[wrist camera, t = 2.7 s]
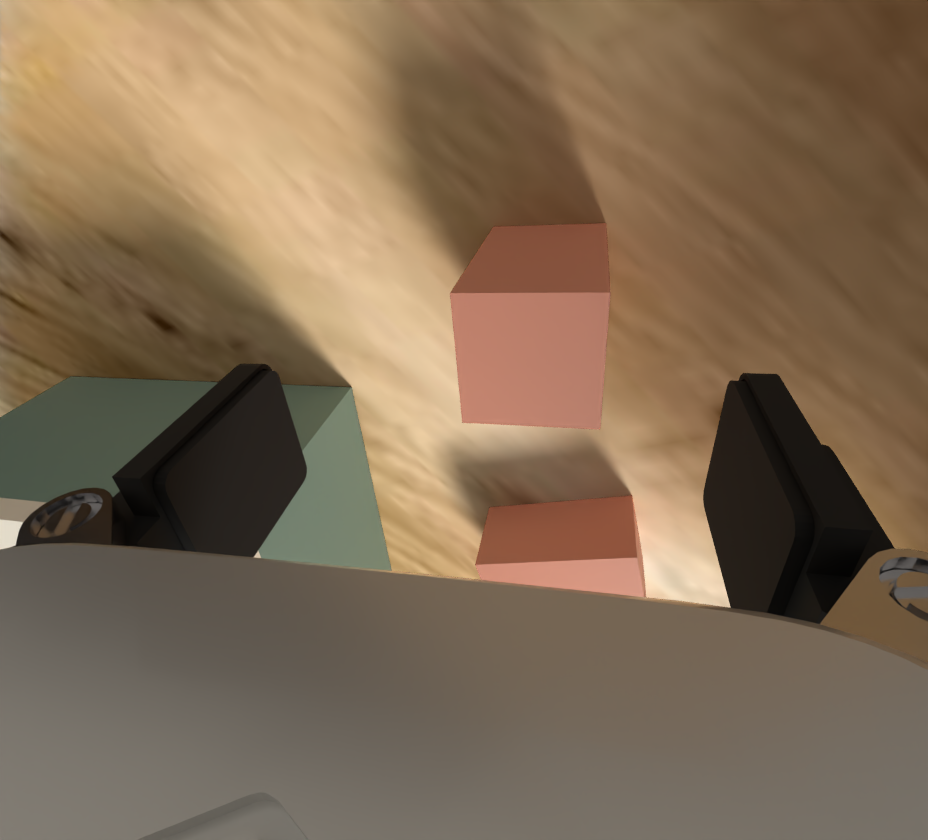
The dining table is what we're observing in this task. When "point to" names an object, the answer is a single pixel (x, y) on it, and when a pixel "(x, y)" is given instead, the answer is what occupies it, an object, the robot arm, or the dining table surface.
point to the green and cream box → (153, 410)
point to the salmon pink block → (534, 326)
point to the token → (565, 546)
